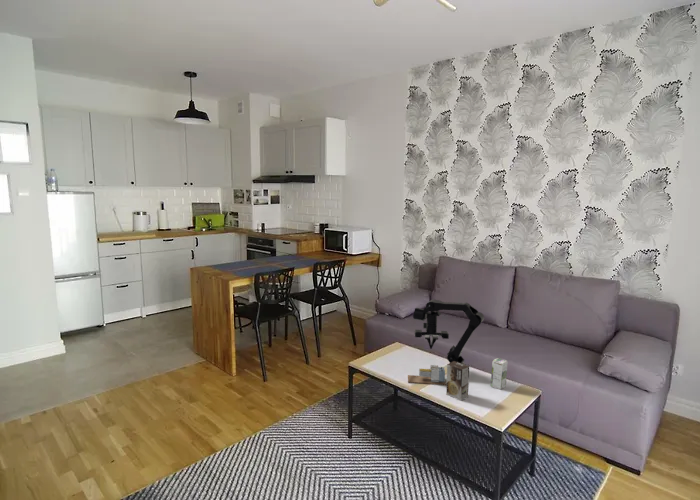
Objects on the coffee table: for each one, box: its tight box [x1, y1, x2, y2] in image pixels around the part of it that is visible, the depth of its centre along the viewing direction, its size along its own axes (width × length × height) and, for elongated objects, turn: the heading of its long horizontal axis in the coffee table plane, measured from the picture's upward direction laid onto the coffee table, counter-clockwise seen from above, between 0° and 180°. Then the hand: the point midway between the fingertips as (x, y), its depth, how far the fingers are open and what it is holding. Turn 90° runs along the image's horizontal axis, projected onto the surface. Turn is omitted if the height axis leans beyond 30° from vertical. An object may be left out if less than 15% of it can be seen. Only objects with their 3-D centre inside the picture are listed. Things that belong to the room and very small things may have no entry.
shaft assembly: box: [418, 366, 446, 383], centre depth 225 cm, size 13×5×6 cm, turn 84°
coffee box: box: [445, 361, 470, 401], centre depth 209 cm, size 9×6×16 cm
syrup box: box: [490, 357, 509, 390], centre depth 219 cm, size 6×6×14 cm
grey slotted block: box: [429, 364, 439, 382], centre depth 225 cm, size 4×7×7 cm, turn 174°
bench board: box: [407, 374, 447, 386], centre depth 226 cm, size 20×8×1 cm, turn 84°
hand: (430, 348), depth 239 cm, fingers closed
